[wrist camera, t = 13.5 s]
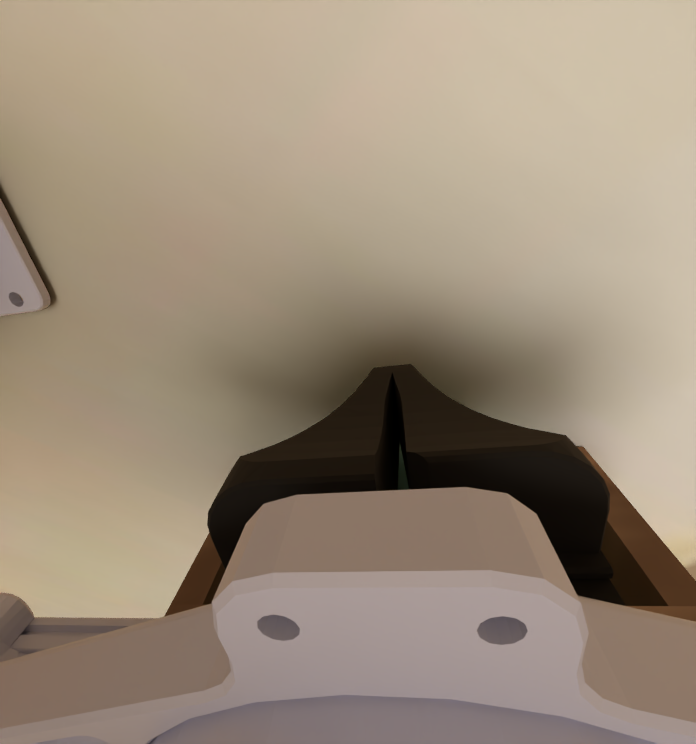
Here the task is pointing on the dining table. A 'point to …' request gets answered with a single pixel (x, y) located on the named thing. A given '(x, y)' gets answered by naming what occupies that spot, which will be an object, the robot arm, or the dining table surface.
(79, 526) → the dining table surface
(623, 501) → the wooden crate box
